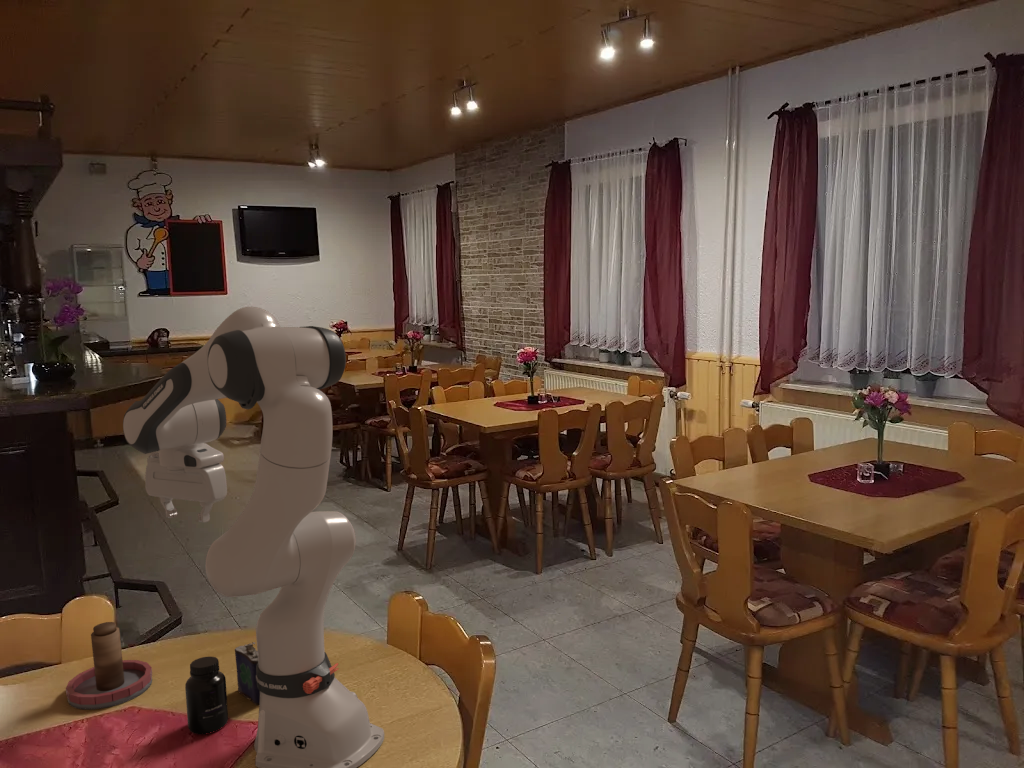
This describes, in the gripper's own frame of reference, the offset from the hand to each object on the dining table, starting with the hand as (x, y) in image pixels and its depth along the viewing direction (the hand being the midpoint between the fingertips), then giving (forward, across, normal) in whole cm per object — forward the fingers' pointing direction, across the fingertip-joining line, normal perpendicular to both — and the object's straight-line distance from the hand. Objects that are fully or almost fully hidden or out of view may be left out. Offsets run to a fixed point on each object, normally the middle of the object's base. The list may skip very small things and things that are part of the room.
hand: (187, 519), depth 163 cm
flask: (+31, +22, -7) cm, 39 cm away
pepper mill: (+30, -7, -16) cm, 35 cm away
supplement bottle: (+31, +22, -18) cm, 42 cm away
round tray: (+31, -7, -16) cm, 36 cm away
